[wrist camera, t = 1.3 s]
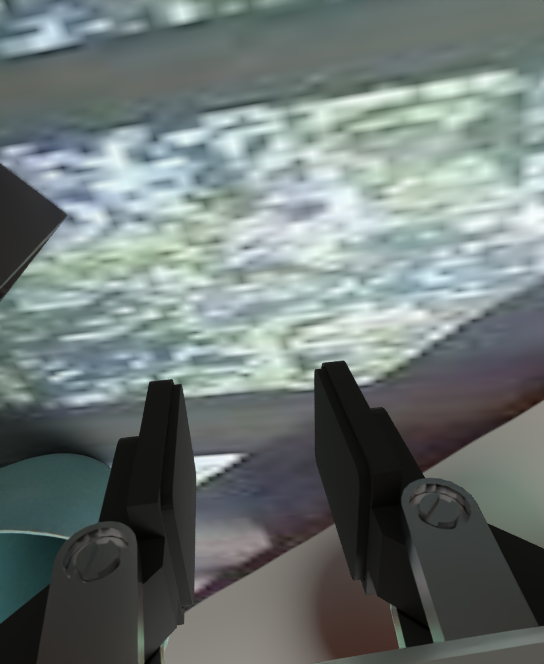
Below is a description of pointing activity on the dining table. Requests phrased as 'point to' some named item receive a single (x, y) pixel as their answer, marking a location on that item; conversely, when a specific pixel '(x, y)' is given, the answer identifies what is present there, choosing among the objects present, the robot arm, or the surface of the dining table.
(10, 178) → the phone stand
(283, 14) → the dining table surface
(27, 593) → the plant pot
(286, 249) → the dining table surface
